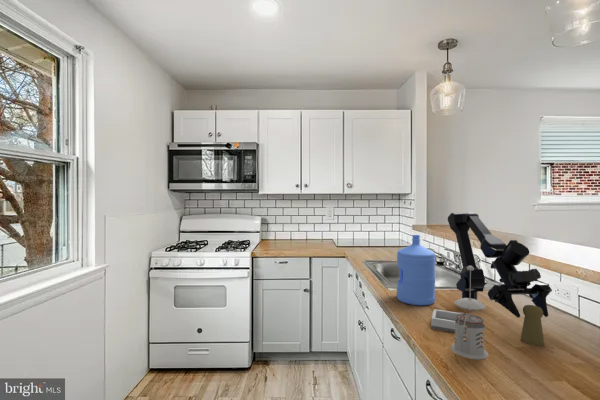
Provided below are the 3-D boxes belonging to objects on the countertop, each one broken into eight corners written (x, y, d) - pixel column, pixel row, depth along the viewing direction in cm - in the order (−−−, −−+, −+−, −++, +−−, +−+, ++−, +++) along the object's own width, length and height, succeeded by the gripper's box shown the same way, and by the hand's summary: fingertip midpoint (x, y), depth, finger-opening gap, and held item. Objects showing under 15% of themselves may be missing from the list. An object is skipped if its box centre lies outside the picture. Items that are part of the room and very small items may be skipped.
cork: (521, 335, 106) (522, 301, 106) (544, 340, 103) (545, 305, 102) (519, 341, 102) (520, 306, 102) (543, 347, 98) (544, 310, 98)
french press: (493, 351, 96) (494, 265, 95) (480, 365, 87) (481, 272, 87) (458, 340, 103) (459, 260, 102) (442, 352, 94) (443, 266, 94)
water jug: (440, 299, 142) (441, 235, 141) (425, 309, 130) (426, 238, 130) (406, 292, 153) (407, 232, 152) (390, 300, 141) (390, 235, 141)
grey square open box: (433, 318, 120) (433, 309, 120) (464, 323, 116) (464, 313, 116) (431, 328, 112) (431, 318, 111) (464, 334, 107) (464, 323, 107)
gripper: (493, 260, 106) (518, 305, 95) (547, 259, 108) (578, 303, 97) (478, 278, 114) (499, 321, 103) (528, 277, 116) (555, 320, 105)
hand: (533, 316), depth 102 cm, fingers open, 9 cm apart
